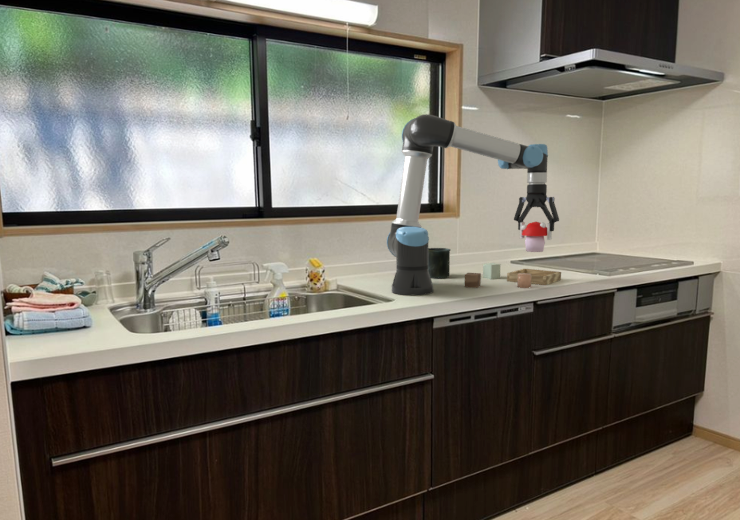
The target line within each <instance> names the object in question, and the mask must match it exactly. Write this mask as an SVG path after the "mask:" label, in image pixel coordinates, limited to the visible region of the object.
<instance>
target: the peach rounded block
mask: <svg viewBox="0 0 740 520" xmlns="http://www.w3.org/2000/svg"><path fill="white" fill-rule="evenodd" d="M516 283H517V288H519V287H520V289H530V288H529V287H531V288H532V284H531V274H529V273H518V282H516Z"/></svg>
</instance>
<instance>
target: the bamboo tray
mask: <svg viewBox="0 0 740 520" xmlns="http://www.w3.org/2000/svg"><path fill="white" fill-rule="evenodd" d="M518 273H529V274H531V285H538V284H539V285H540V286H548V285H551V284H553V283H556V282H558V280H559V281H561V280H562V272H561V271H557V270H556V271H554V270H545V269H534V268H533V269H532V268H522V269H518V270H514V271H511V272H507V273H506V282H512V283H517V282H518ZM555 281H556V282H555ZM547 284H548V285H547ZM539 285H538V286H539Z"/></svg>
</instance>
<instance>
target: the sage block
mask: <svg viewBox="0 0 740 520" xmlns="http://www.w3.org/2000/svg"><path fill="white" fill-rule="evenodd" d="M482 264H483V265H482V266H483V267H482V278H483V279H487V280H497V279H501V263H495V262H488V263H482Z"/></svg>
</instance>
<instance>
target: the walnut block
mask: <svg viewBox="0 0 740 520" xmlns="http://www.w3.org/2000/svg"><path fill="white" fill-rule="evenodd" d="M481 275H482V274H481V272H466V273H465V274H464V288H472V289H473V288H474V289H478V288H480V287H481V283H482V281H481V279H482V278H481V277H482V276H481Z"/></svg>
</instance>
